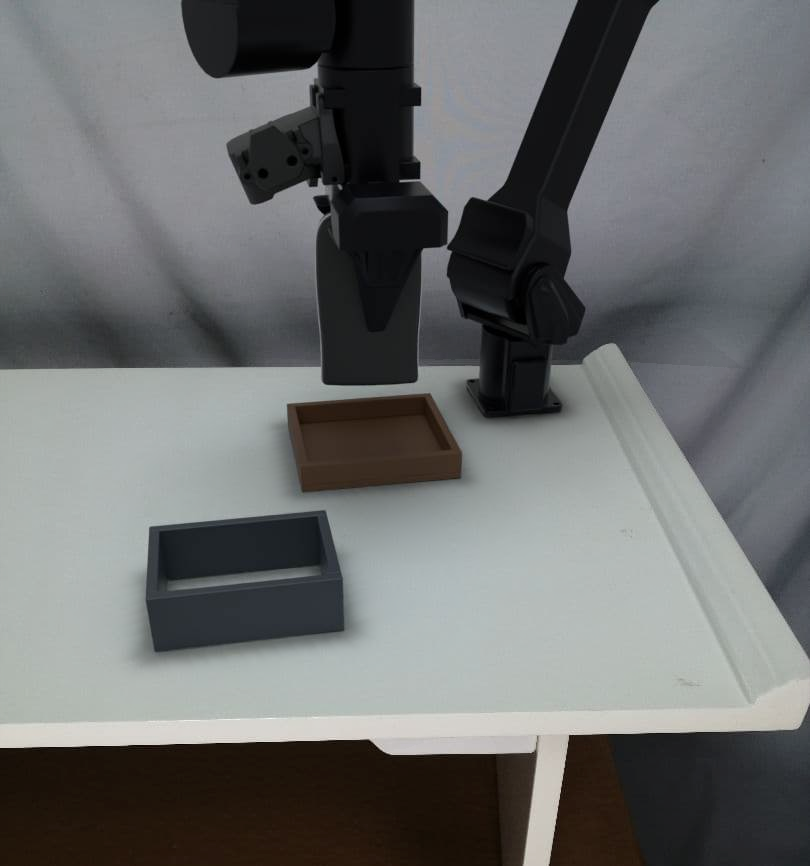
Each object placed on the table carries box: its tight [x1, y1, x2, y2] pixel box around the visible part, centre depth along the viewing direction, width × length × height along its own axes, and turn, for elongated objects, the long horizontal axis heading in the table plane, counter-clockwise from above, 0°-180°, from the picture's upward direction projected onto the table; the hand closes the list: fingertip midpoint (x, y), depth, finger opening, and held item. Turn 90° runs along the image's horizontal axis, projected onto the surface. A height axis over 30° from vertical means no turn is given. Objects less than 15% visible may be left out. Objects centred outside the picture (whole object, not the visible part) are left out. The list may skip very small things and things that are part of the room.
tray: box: [286, 392, 463, 493], centre depth 69 cm, size 10×11×2 cm
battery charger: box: [314, 211, 423, 387], centre depth 64 cm, size 7×4×11 cm, turn 96°
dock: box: [145, 509, 345, 653], centre depth 53 cm, size 7×10×4 cm
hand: (370, 319), depth 64 cm, fingers closed on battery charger, 4 cm apart
